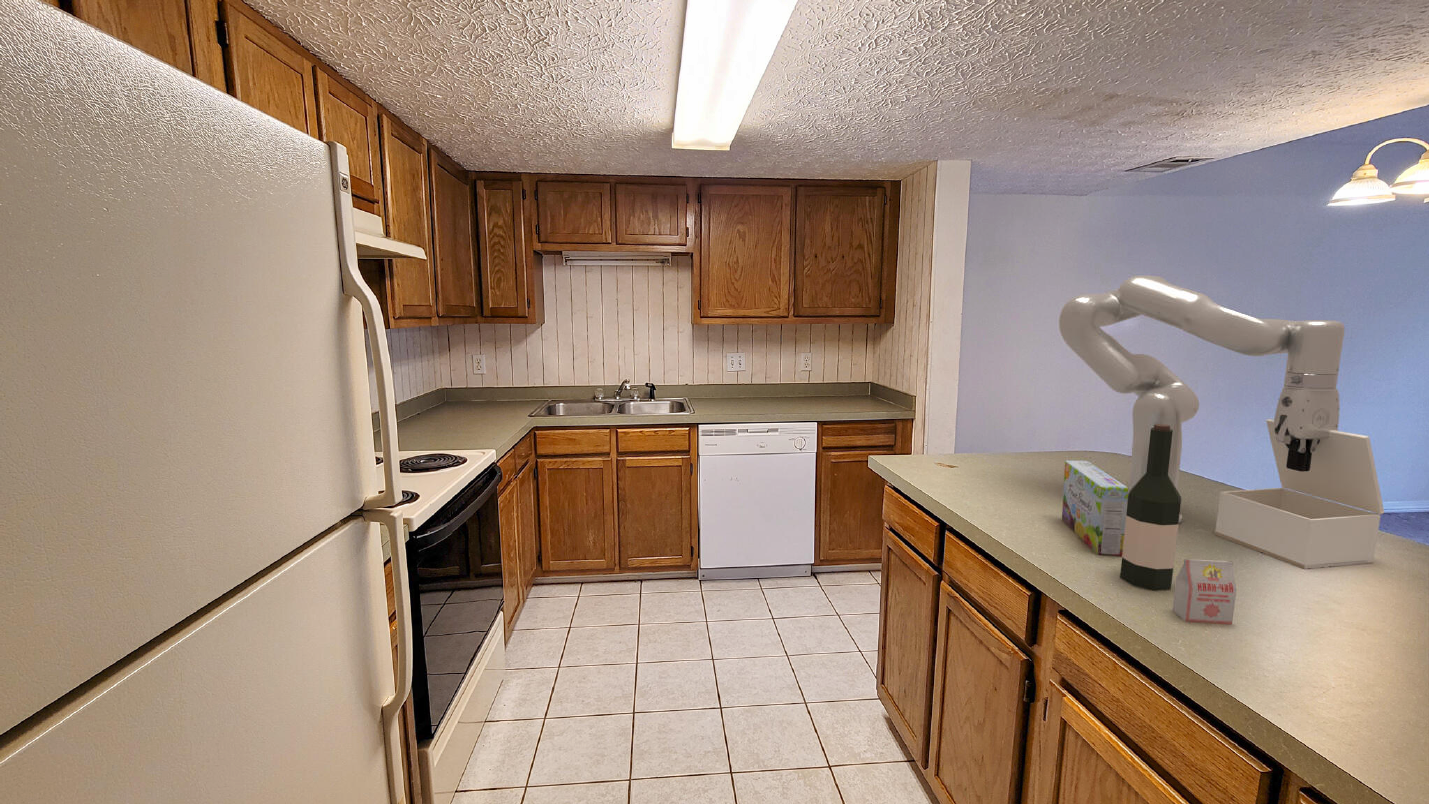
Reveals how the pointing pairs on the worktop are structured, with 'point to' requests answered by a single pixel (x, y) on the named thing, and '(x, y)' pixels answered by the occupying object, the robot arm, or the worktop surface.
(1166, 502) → the wine bottle
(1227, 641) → the worktop surface
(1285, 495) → the carton
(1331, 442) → the carton lid
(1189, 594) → the white and red packet
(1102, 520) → the snack box
